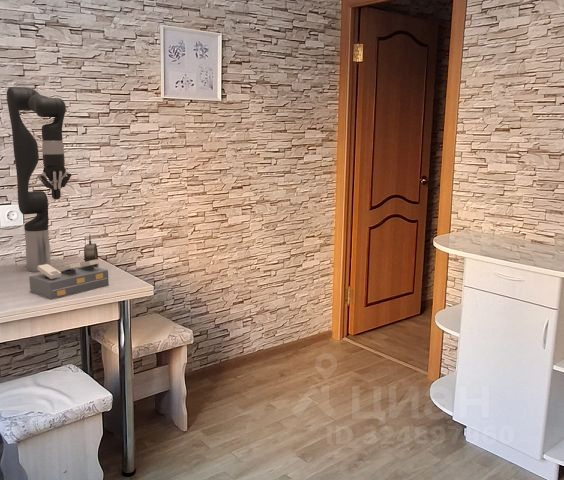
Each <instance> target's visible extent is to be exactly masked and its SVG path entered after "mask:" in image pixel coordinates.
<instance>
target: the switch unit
mask: <svg viewBox="0 0 564 480" xmlns="http://www.w3.org/2000/svg"><path fill="white" fill-rule="evenodd" d="M28 277H29V279H28V280H29V290H30V293H32V294H35V295H37V296H40V297H43V298H45V299H50V300H53V299H58V298H62V297H66V296H70V295H74V294H78V293H82V292H83V293H84V292H87V291H92V290H94V289H99V288H102V287H106V286H107V287H108V286H109V285H110V283H109V270H108V269H106V268H101V267H99V266H98V267H94V266H93V265H89V266H83V267H78V268H74V269H71V270H66V271H63V272H61V277H58V278H53V279H50V278H49V277H47V276H46V275H44V274H43V273H39V274H33V275H30V276H28Z"/></svg>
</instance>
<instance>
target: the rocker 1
mask: <svg viewBox="0 0 564 480" xmlns="http://www.w3.org/2000/svg"><path fill="white" fill-rule="evenodd" d="M37 270H38V271H40V274H44V275H46V276H47V277H49V278H50V279H53V278H58V277H61V272H59V271H58V269H57V268H55V267H54V266H52V265H51V266H50V265H49V264H44V265H39V266H38V269H37Z"/></svg>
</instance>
